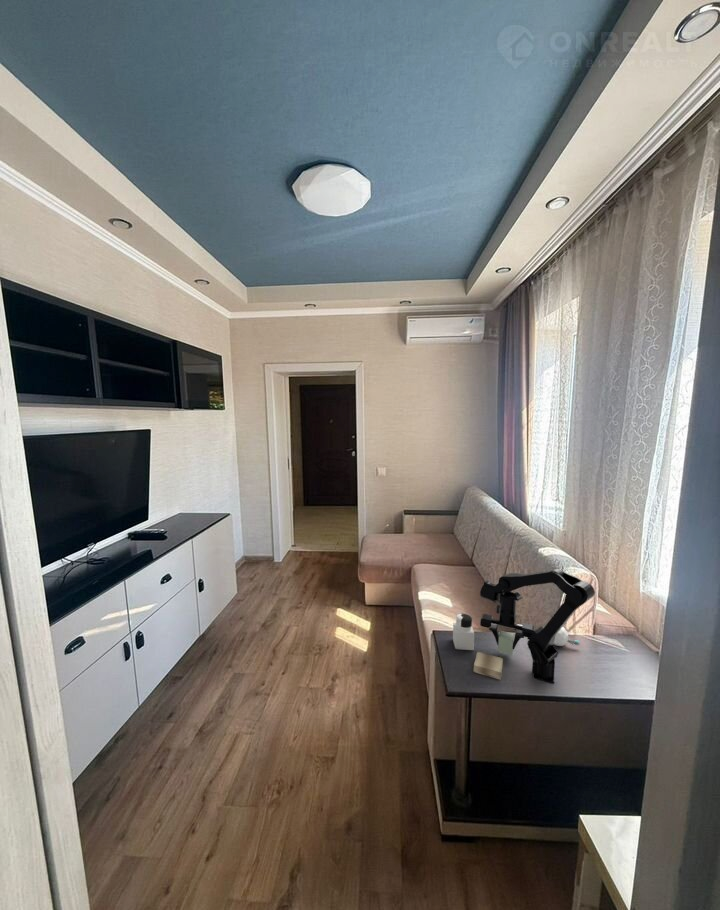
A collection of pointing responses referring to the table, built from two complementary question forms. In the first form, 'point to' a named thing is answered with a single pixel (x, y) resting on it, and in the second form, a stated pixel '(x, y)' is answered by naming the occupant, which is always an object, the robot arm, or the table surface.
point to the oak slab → (488, 665)
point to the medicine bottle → (463, 632)
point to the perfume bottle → (563, 638)
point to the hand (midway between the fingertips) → (505, 647)
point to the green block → (505, 642)
